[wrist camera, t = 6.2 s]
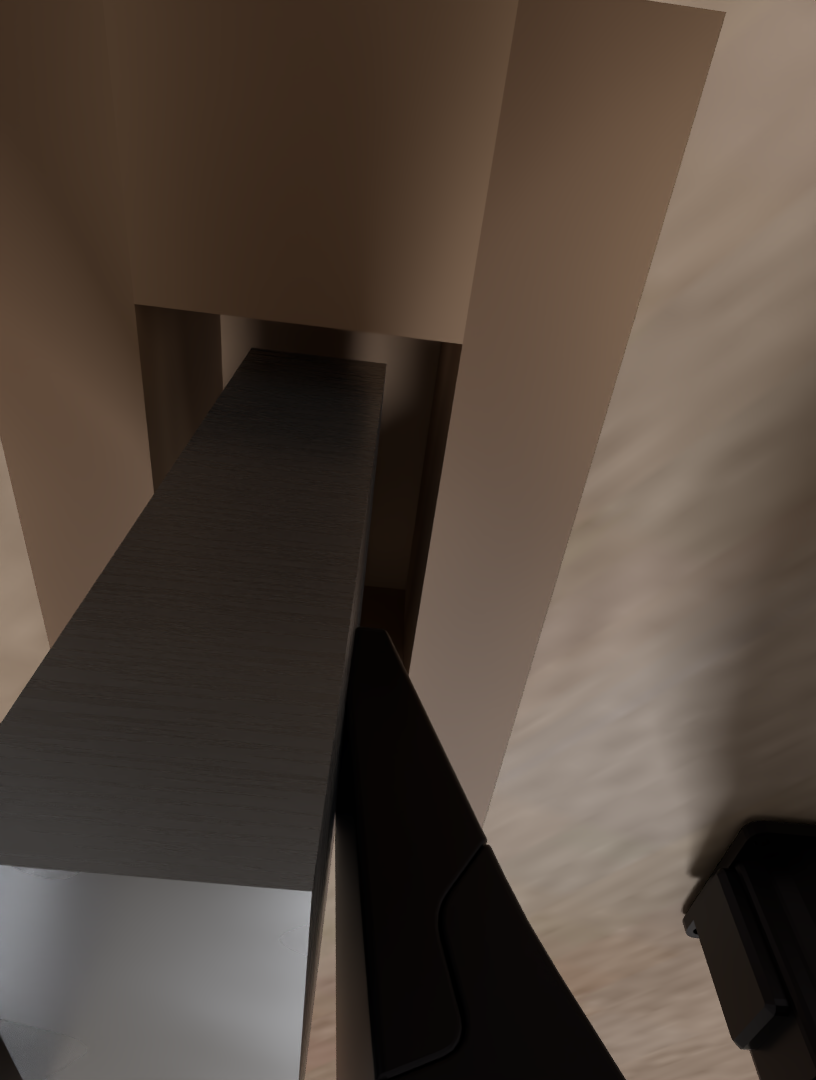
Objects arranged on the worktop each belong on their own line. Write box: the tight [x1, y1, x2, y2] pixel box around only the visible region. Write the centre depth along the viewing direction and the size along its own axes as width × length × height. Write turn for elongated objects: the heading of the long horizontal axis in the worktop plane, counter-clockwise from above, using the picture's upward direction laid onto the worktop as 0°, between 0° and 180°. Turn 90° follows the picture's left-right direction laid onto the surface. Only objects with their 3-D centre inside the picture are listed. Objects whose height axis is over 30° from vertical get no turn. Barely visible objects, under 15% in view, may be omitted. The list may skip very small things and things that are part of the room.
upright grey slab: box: [0, 348, 387, 1080], centre depth 8 cm, size 2×5×8 cm, turn 173°
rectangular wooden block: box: [0, 0, 726, 836], centre depth 12 cm, size 8×14×5 cm, turn 173°
